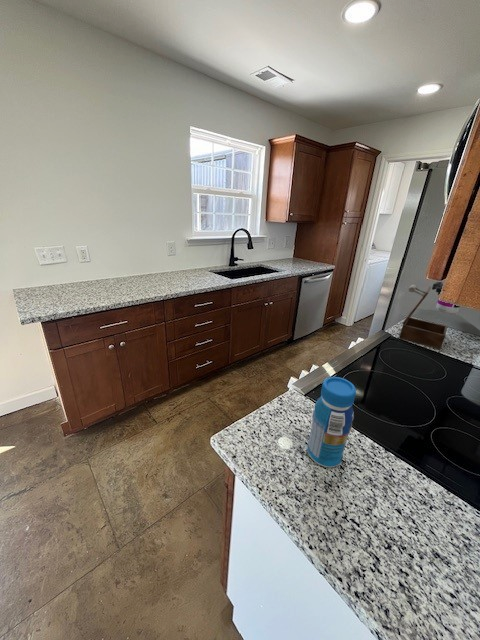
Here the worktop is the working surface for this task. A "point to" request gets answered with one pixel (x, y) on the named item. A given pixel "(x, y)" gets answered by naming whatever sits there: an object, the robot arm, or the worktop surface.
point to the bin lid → (412, 289)
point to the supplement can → (447, 307)
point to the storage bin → (423, 333)
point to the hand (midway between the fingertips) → (452, 294)
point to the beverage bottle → (331, 422)
